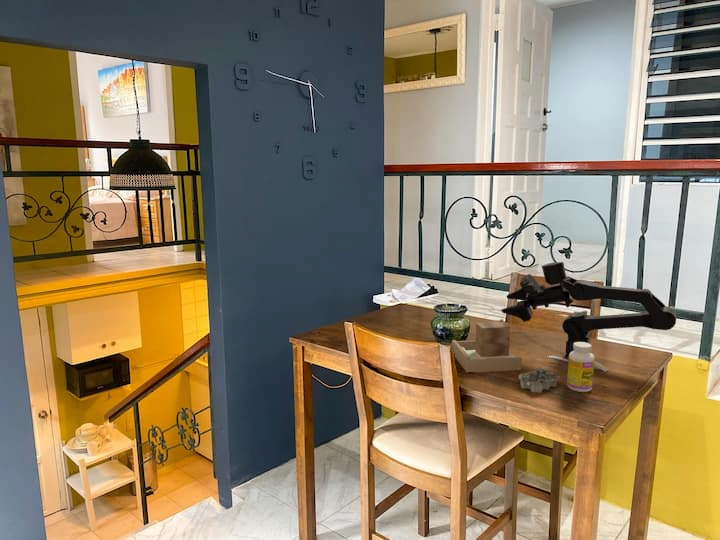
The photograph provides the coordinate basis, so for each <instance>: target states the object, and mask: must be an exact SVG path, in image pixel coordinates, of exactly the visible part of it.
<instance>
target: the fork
mask: <svg viewBox="0 0 720 540" xmlns="http://www.w3.org/2000/svg"><path fill="white" fill-rule="evenodd" d="M548 356H549V357H548ZM548 356H547V357H548V358H549V359H552V360H559V361H563V362H568V363H569V359H567V358H564V357H561V356H556V355H551V356H550V355H548ZM548 358H547V359H548ZM594 367H597V368H598V369H600V370H602V371H603V372H605V373H606V371H608V370H609V369H608V368H606V367H605V366H604V365H602V364H601V363H599V362H597V361H594Z"/></svg>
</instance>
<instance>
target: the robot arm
mask: <svg viewBox="0 0 720 540" xmlns="http://www.w3.org/2000/svg"><path fill="white" fill-rule="evenodd" d="M541 270H542V273H543V277H544V280H545V283H546V284H547V285H549V286H548V287H546V286H545V285H544V284H539V282H538V281H537V280H536V279H535V278H534V276H532V274H531V273H528V274H527V275H524V276H523V277H522V278H521V280H520V282H519V285H520V288H519V289H517V290H515V291H513V292H511V293H509V294H507V295H506V298H507V299H509V300H518V301H517V302H516V304H515V305H511V306H508V307H504V308H502V309H501V310H500V311H501V312H502V313H503V314H506V315H510V316H513V317H517V318H518V319H520V320H521V321H522V322H524V323H525V322H530V321H531V319H532V317H533V314H534V312H533V310H534V311H535V310H537V307H543V306H544V307H545V308H549V306H550V305H554V304H559V303H564V304H565V307H566V308H570V306H571V305H572V303H573V302H574V301H578V302H579V301H591V300H597V299H598V300H610V301H618V302H620V301H621V302H626V303H627V302H628V303H629V302H630V303H636V304H638V303H639V304H640V305H642V306H643V308H644V309H645V311H643V312H637V313H636V312H635V313H634V312H633V313H624V314H623V313H622V314H621V313H620V314H608V315H606V314H605V315H597V316H596V315H594V316H593V315H589V314H588V311H587V310H584V311H573V313H570V314H569V315H568V316H567V317H566V318H565V320H563V322H562V324H561V325H562V330H563V331H564V333H565V334H566V335H567V340H566V341H565V354H564V357H566V358H569V354H570V353H571V352H572V351H574V349H573V344H574V343H575V342H585V343H589V344H591V338H590V337H589V336H590V334H591V332H592V331H594V330H609V329H611V330H612V329H613V330H614V329H625V328H626V329H627V328H647V329H652V330H658V331H659V330H661V331H669V330H672V329H673V328H674V327H675V325H676V323H677V313H676V311H675V309H674V308H672V307H670V306H667V305H666V304H664V303H663V302H662V301H661V300H660V299H659V298H658V297H657V296H655V295H654V294H653V292H652V291H651V290H650V289H649V288H648V289H647V288H631V287H621V286H619V287H618V286H611V285H602V284H598V283H595V282H593V281H588V280H585V279H576V278H573V277H571V276H568V275H567V273H566V269H565V263H564V261H560V262H559V261H558V262H554V261H553V262H550V263H546V264H544V265H541ZM557 284H558V285H557ZM519 300H520V301H519Z"/></svg>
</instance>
